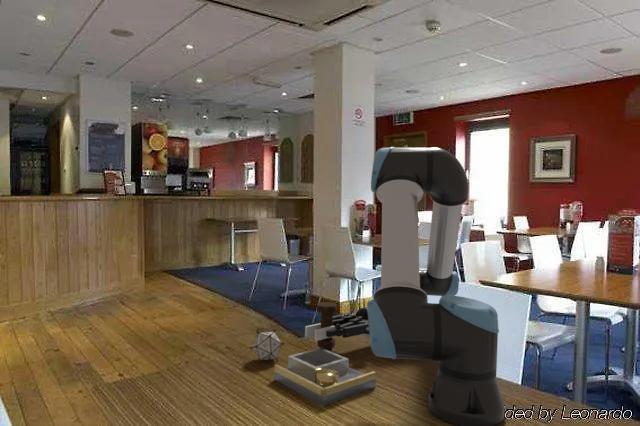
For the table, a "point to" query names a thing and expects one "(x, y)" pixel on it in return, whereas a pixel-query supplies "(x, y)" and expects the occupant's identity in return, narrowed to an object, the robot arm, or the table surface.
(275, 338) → the game die
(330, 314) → the bolt
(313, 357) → the carrier
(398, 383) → the table surface
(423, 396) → the table surface
